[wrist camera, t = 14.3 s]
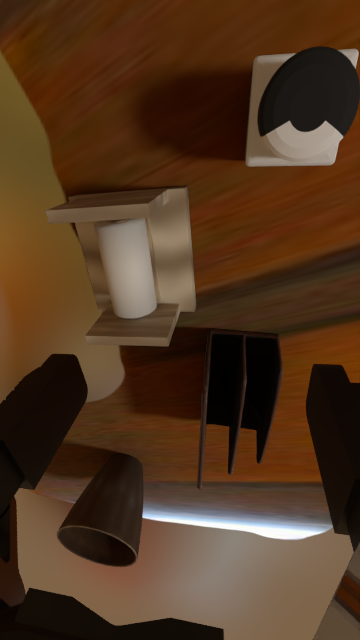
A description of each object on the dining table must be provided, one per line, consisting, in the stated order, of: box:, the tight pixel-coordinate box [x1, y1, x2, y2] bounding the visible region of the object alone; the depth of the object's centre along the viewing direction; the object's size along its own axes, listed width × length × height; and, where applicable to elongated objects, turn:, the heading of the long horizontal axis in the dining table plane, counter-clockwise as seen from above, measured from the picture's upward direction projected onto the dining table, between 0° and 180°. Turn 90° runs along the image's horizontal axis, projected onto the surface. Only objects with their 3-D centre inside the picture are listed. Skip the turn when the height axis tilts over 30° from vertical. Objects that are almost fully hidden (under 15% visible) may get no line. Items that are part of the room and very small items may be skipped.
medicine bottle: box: [244, 47, 360, 167], centre depth 23 cm, size 7×7×12 cm
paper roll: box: [94, 218, 157, 318], centre depth 34 cm, size 11×6×6 cm, turn 5°
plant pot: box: [57, 454, 143, 567], centre depth 58 cm, size 15×15×16 cm
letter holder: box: [197, 329, 283, 489], centre depth 41 cm, size 10×20×14 cm, turn 0°
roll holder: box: [46, 186, 196, 346], centre depth 34 cm, size 15×14×10 cm
